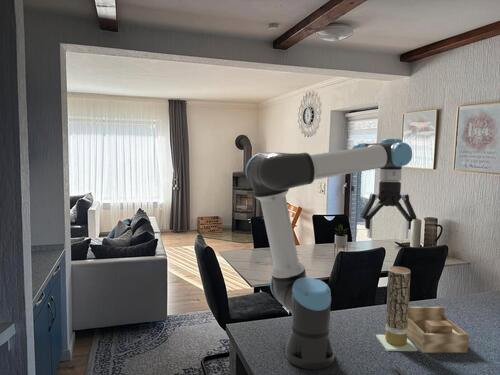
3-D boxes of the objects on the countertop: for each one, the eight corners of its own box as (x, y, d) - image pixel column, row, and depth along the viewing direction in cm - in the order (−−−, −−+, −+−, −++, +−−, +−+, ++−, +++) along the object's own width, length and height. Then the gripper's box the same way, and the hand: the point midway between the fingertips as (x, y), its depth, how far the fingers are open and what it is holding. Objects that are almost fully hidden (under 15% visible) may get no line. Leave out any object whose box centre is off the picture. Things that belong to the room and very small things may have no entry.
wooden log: (408, 347, 122) (412, 273, 120) (386, 345, 123) (390, 271, 121) (404, 337, 128) (408, 267, 126) (383, 335, 130) (386, 265, 128)
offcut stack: (426, 350, 122) (428, 325, 121) (420, 344, 126) (422, 320, 125) (459, 350, 122) (461, 326, 121) (452, 344, 126) (454, 320, 125)
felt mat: (387, 351, 121) (387, 349, 121) (375, 336, 131) (375, 334, 131) (417, 351, 121) (417, 349, 121) (403, 336, 131) (403, 334, 131)
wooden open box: (423, 352, 120) (424, 325, 119) (402, 330, 135) (403, 306, 134) (467, 352, 121) (469, 325, 120) (442, 330, 136) (443, 306, 135)
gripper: (360, 181, 133) (357, 239, 135) (428, 182, 134) (425, 240, 136) (353, 179, 141) (351, 235, 142) (418, 180, 142) (415, 235, 143)
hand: (387, 237), depth 139 cm, fingers open, 13 cm apart
